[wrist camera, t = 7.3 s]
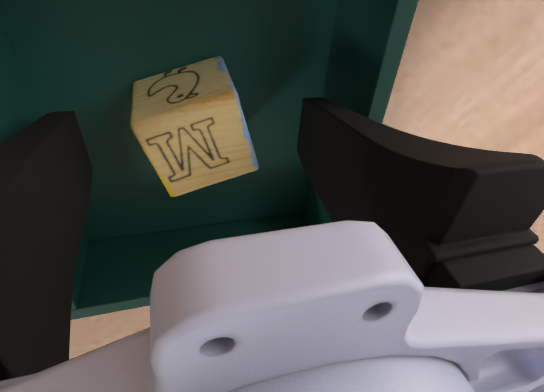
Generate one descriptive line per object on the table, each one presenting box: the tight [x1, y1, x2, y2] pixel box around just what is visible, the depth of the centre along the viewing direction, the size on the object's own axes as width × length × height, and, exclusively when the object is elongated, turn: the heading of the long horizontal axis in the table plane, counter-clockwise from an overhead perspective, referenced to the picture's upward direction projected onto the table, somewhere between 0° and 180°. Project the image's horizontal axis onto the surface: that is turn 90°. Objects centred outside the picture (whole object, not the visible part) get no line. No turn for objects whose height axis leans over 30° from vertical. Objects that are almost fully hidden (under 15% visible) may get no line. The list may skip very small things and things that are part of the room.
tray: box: [0, 0, 418, 320], centre depth 12 cm, size 13×11×4 cm
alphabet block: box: [130, 56, 259, 197], centre depth 12 cm, size 3×3×3 cm
